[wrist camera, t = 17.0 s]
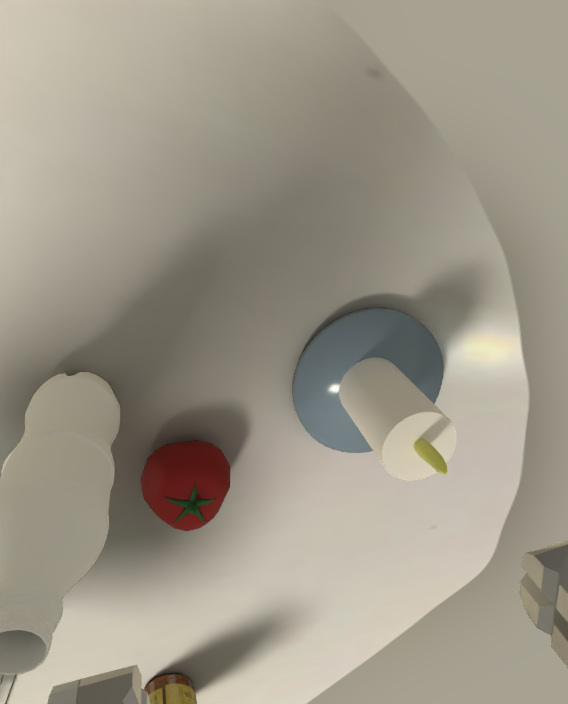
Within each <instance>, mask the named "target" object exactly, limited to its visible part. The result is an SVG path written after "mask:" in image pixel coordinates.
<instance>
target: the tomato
mask: <svg viewBox="0 0 568 704" xmlns="http://www.w3.org/2000/svg"><path fill="white" fill-rule="evenodd" d="M141 485H142V492H143V496H144V499H145V501H146V502H147V504H148V505H149V507H150V508H151V509H152V510H153V512H154V513H155V514H156V515H157V516H158V517H159V518H161V519H162V520H163V521H165V522H166V523H167V524H169V525H170V526H172V527H173V528H176V529H180V530H185V531H189V530H193V529H198V528H200V527H202V526H204V525H205V524H207V523H208V522H209V521H210V520H212V519H213V518H214V517H215V515H216V514H217V513H218V511H219V509H220V507H221V505H222V503H223V501H224V498H225V496H226V494H227V492H228V490H229V488H230V465H229V464H228V462H227V460H226V458H225V456H224V454H223V453H222V451H221V450H220V449H218V448H217V447H215V446H214V445H212V444H210V443H206V442H202V441H198V440H193V441H186V442H179V443H172V444H166V445H165V446H163V447H161V448H159V449H158V450H156V451H154V452H153V454H152V455H151V456H150V457H149V458H148V459H147V461H146V464H145V467H144V470H143V474H142V477H141Z"/></svg>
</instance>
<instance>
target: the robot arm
mask: <svg viewBox="0 0 568 704" xmlns="http://www.w3.org/2000/svg"><path fill="white" fill-rule="evenodd" d="M521 567H522V568H523V569H524V570H525V571H526V574H525V576H524V577H523V579H522V580H521V581H520V597H521V600H522V603H523V607H524V609H525V610H526V612H527V614H528V616H529V618H530V619H531V620H532V622H533V623H534V624H535V626H536V627H537V628H538V629H540V630H542V631H544V632H546V633H548V634H550V635H551V646H552V648H553V649H554V651H555V652H556V653H557V654H558V656H559V657H560V658H561V660H562V661H563V662H564V664H565V665H566V666H567V668H568V541H563V542H560V543H556V544H553V545H550V546H547V547H543V548H540V549H537V550H533V551H530V552H527V553H525V555H524V556H523V557H522V565H521ZM14 677H15V675H5V674H0V704H5V702H6V700H7V697H8V694H9V691H10V688H11V686H12V683H13V680H14ZM48 704H150V699H149V696H148V693H147V691H145V690H143V689H141V674H140V671H139V669H138V666H137V665H134V666H130V667H126V668H122V669H118V670H114V671H110V672H106V673H103V674H99V675H95V676H91V677H87V678H83V679H79V680H76V681H72V682H68V683H65V684H61V685H57V686H54V687H53V689H52V691H51V693H50V695H49V699H48Z"/></svg>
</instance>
